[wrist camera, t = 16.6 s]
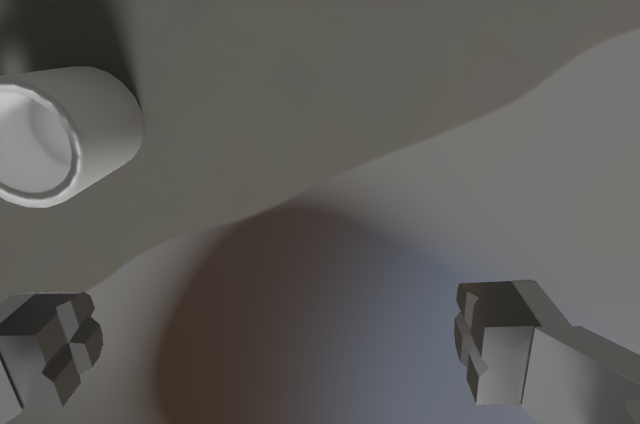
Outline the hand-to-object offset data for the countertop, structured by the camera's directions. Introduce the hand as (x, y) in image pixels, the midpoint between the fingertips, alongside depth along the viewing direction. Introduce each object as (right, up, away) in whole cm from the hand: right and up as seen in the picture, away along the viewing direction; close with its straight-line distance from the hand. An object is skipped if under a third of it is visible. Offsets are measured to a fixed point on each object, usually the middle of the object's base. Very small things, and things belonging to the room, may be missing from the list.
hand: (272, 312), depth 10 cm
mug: (-23, +12, +33) cm, 42 cm away
